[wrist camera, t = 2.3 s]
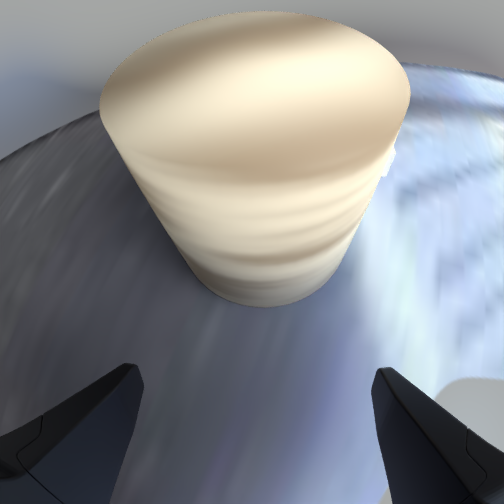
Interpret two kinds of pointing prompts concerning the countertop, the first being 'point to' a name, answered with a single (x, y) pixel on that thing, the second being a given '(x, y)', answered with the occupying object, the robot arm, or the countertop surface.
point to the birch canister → (258, 144)
